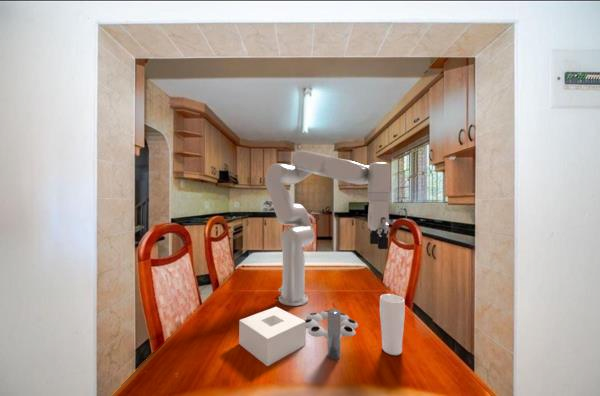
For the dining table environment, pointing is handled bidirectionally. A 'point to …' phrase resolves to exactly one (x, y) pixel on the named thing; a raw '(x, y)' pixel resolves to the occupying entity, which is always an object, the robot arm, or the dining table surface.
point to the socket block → (272, 334)
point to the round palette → (324, 314)
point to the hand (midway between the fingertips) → (378, 246)
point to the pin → (334, 334)
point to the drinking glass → (392, 322)
